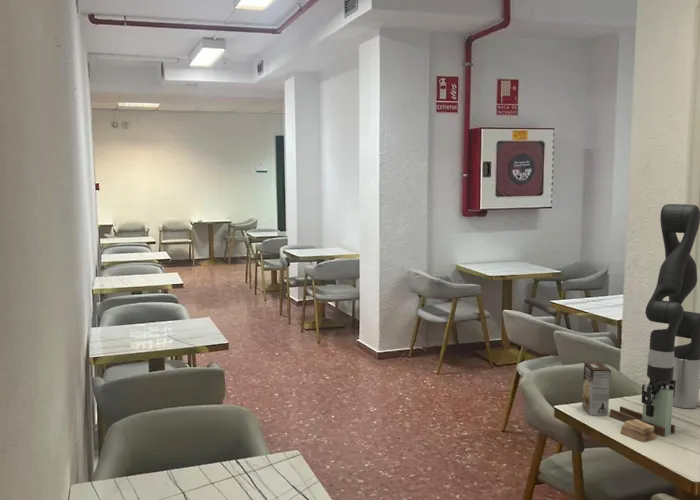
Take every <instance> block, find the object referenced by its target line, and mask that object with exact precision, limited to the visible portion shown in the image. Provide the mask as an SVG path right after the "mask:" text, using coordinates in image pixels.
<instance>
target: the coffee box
mask: <svg viewBox="0 0 700 500" xmlns="http://www.w3.org/2000/svg"><path fill="white" fill-rule="evenodd" d="M611 374H612V370H611V369H610V368H609V367H608V366H607V365H606V364H605V363H604V362H603V361H585V362H584V364H583V379H582V380H583V381H582V397H581V398H582V399H581V407H582V408H583V409H584V410H585V411H586V413H587V414H588V415H589V416H595V417H596V416H597V417H599V416H605V417H607V416H609V403H610V401H609V400H610V388H611Z"/></svg>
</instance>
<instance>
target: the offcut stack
mask: <svg viewBox="0 0 700 500" xmlns="http://www.w3.org/2000/svg"><path fill="white" fill-rule="evenodd" d="M653 432H654V426H651V425H649V424H647V423H644V422H642V421H639V420H637V419H634V420H629V421H625V422H624V424H622V425H621V429H620V434H621V435H624V436H627V437H629V438H632V439H634V440H637V441H640V442H642V443H644V442H645V443H646V442H648V441H652V440H655V439H656V438H657V434H654V433H653Z"/></svg>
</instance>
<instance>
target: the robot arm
mask: <svg viewBox="0 0 700 500" xmlns="http://www.w3.org/2000/svg"><path fill="white" fill-rule="evenodd" d="M659 217H660V227H661V234H662V240H663V245H664V246H663V247H664V255H665V258H664V261H663V262H662V264H660V265H661V266H660V268H659V272H658V277H657V283H656V287H655V289H654V292H653V293H652V296H651V298H650V299H649V300H648V303H646V307H645V312H644V313H645V316H646V319H647V320H648V321H650V322H652V323H653V322H654V323H659V324H666V325H668V327H667V328H665V329H664V328H661V329H653V330H652V331H651V332H650V336H649V337H650V338H649V348H648V349H649V350H648V353H647V366H646V377H647V378H649V382H648V384H649V385H646V384H642V386H641V403H642V404H643V403H645V404H646V415H647V416H649V417H653V416H654V404H655V401H656V400H658V398H659V396H660V393H661V391H662V390H663V388H665V389H670V390H674V393H673V406H672V407H677V408H680V409H681V408H682V409H696V408H697V407H698V405H699V398H700V397H699V396H700V313H699V312H693V311H688V310H687V311H686V310H685V309H684V306H682V304H683V302H684V301H685V300H686V298H688V296H689V295H690V294H691V292H693V290H694V288H695V287H696V285H697V283H698V270H697V269H698V268H697V267H698V266H697V264H696V261H695V259H694V258H693V257H692V256H691V251H692V249H693V246H694V243H695V240H696V237H697V233H698V232H699V228H700V227H699V226H700V207H698V205H695V204H683V203H668V204H664V205H663V206H662V207H661V210H660V215H659ZM677 233H679V234H683V236H682V239H681V241H680V240H679V238H678V235H677ZM667 297H668V300H664V299H665V298H667ZM678 337H679V338H685V339H690V342H689V343H686V344H682V345H680V344H679V345H675V344H676V343H675V342H676V338H678ZM651 393H652V394H653V395H655V396H653V395H651ZM645 397H647V398H646V400H645ZM651 398H653V399H652V401H651Z"/></svg>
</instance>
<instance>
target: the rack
mask: <svg viewBox="0 0 700 500" xmlns="http://www.w3.org/2000/svg"><path fill="white" fill-rule="evenodd" d="M642 416H643V413H641V412H639V411H636V410H633V409H629V408H627V407H624V406H619V411H618V410H616V409H613V408H610V409H609V417H610V418H613V419H615V420H618V421H621V422H623V423H625V421H629V420H634V419H637V420H639V421H642V422H644V423H647V424H649V425H651V426H654V432H653V433H654V434H656V436H659V437H662V438H664V437H666V435H665V428H662V427H660V426H657V425H654V424H651V423H649V422H646V421H643V420H642ZM675 432H676V425H674V424H672V423H671V433H670V434H672V435H673V434H675Z"/></svg>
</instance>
